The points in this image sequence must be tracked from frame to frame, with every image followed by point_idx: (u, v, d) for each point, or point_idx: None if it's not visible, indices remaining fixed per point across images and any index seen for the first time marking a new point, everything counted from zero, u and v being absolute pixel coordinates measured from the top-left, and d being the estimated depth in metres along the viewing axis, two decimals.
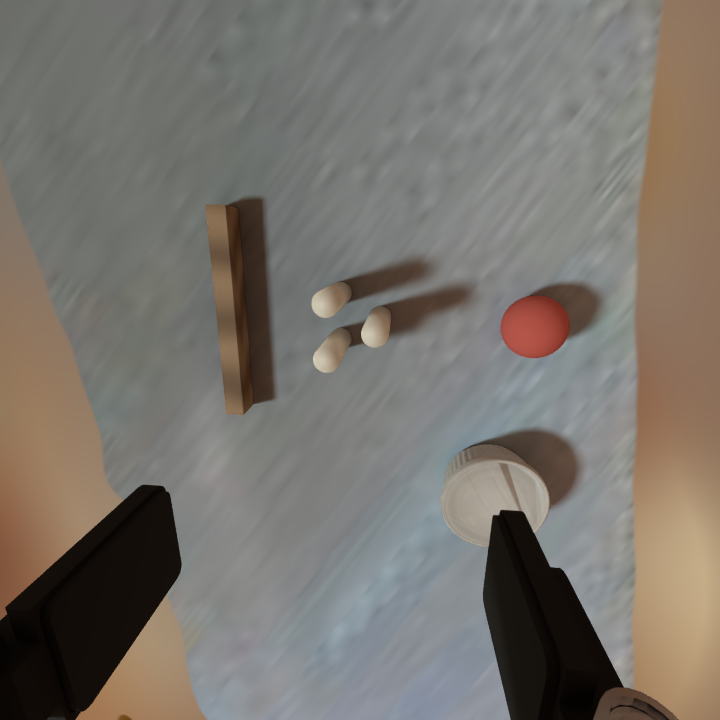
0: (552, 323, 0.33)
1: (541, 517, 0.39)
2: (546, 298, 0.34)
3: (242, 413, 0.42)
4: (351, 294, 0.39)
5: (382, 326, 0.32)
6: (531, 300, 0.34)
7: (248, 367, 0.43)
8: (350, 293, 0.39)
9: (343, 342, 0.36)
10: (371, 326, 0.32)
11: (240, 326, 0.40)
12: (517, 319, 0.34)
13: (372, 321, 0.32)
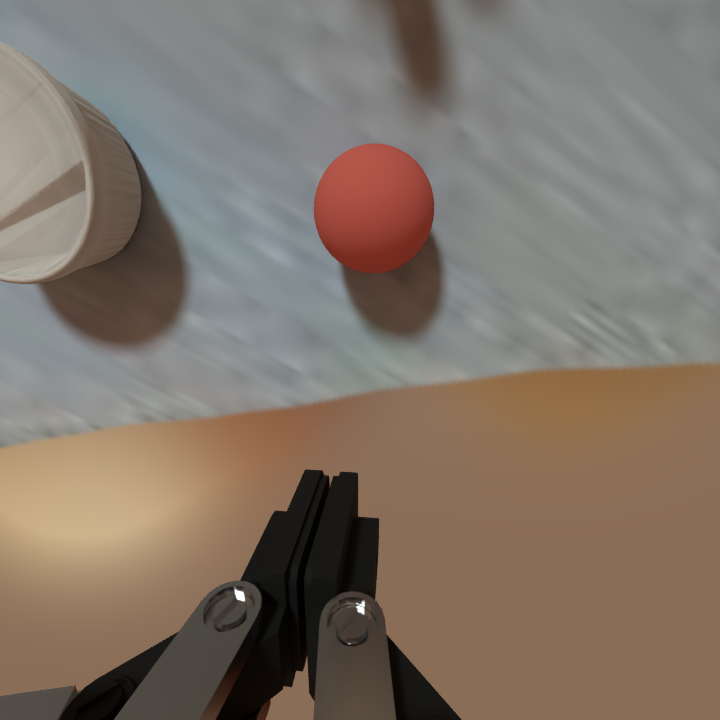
0: (388, 220, 0.16)
1: None
2: (431, 220, 0.18)
3: None
4: None
5: None
6: (428, 187, 0.17)
7: None
8: None
9: None
10: None
11: None
12: (393, 155, 0.16)
13: None
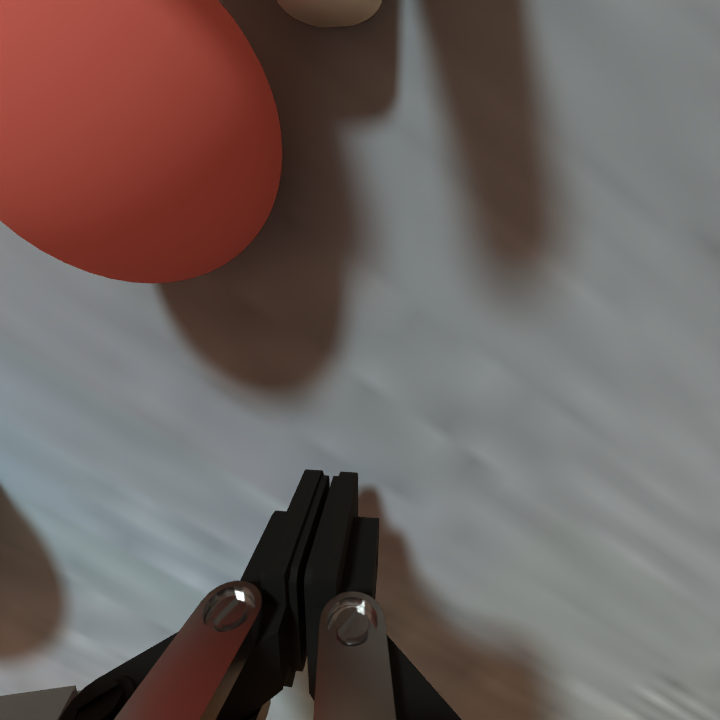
0: (261, 226, 0.09)
1: None
2: (239, 87, 0.06)
3: None
4: None
5: None
6: (187, 143, 0.06)
7: None
8: None
9: None
10: None
11: None
12: (134, 252, 0.07)
13: None
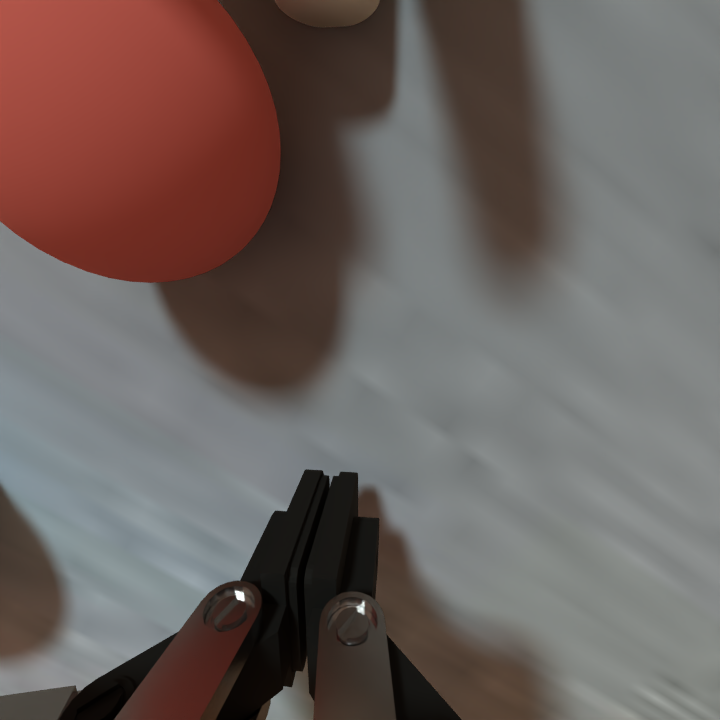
0: (260, 226, 0.09)
1: None
2: (236, 85, 0.06)
3: None
4: None
5: None
6: (183, 142, 0.06)
7: None
8: None
9: None
10: None
11: None
12: (130, 250, 0.07)
13: None
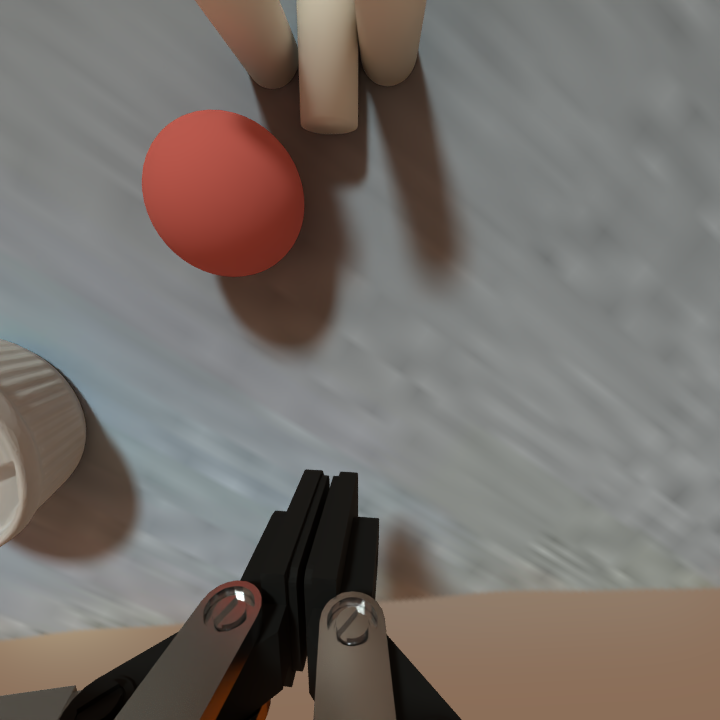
0: None
1: None
2: (289, 183, 0.13)
3: None
4: (385, 84, 0.16)
5: None
6: (267, 211, 0.13)
7: None
8: (391, 74, 0.15)
9: (253, 17, 0.12)
10: None
11: None
12: (236, 260, 0.14)
13: None
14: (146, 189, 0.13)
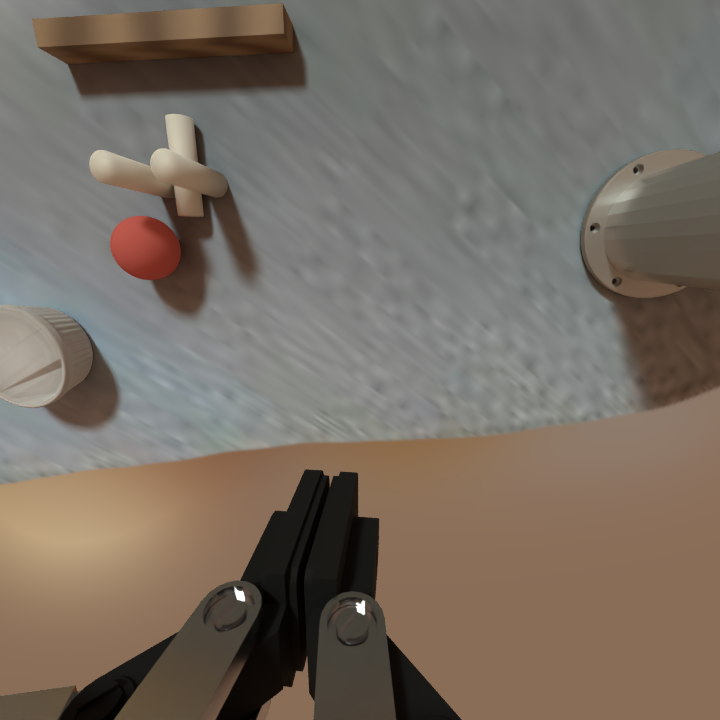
0: (176, 266, 0.37)
1: (18, 402, 0.41)
2: (166, 244, 0.35)
3: (39, 45, 0.32)
4: (215, 197, 0.37)
5: (184, 116, 0.34)
6: (156, 255, 0.34)
7: (109, 58, 0.34)
8: (213, 196, 0.36)
9: (146, 188, 0.33)
10: None
11: (154, 48, 0.32)
12: (147, 273, 0.35)
13: (192, 120, 0.35)
14: (111, 247, 0.34)
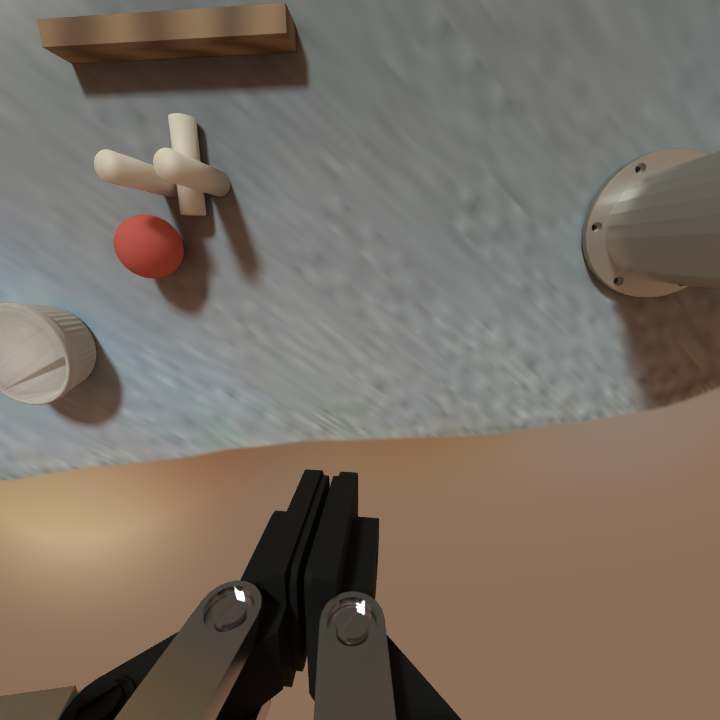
0: (179, 265, 0.37)
1: (23, 399, 0.41)
2: (169, 242, 0.35)
3: (43, 45, 0.32)
4: (218, 196, 0.37)
5: (186, 115, 0.34)
6: (159, 254, 0.35)
7: (113, 57, 0.34)
8: (216, 195, 0.36)
9: (149, 187, 0.33)
10: None
11: (157, 48, 0.33)
12: (150, 272, 0.35)
13: (195, 119, 0.35)
14: (114, 246, 0.35)
